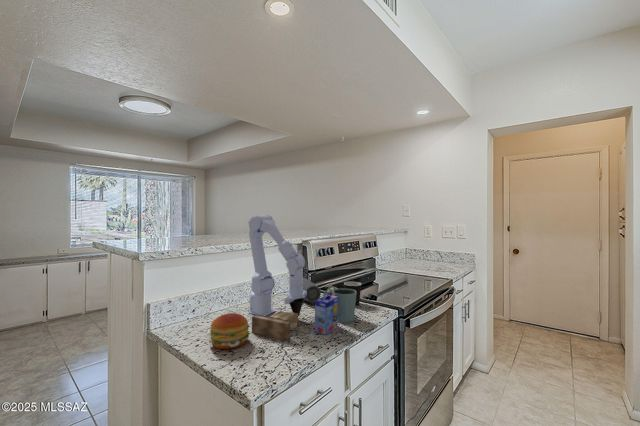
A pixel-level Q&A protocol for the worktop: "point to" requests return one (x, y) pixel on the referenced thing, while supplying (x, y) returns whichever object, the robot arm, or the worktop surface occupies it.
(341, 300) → the grey green cup
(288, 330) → the wall
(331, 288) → the food container
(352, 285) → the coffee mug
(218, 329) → the burger
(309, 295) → the bluetooth speaker
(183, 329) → the worktop surface
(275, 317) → the block
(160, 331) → the worktop surface
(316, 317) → the ink cartridge box
